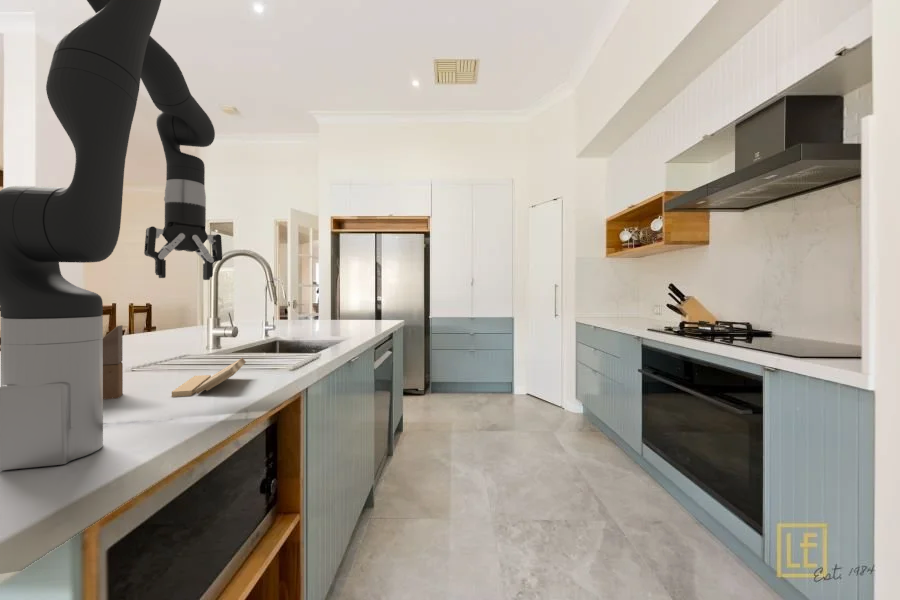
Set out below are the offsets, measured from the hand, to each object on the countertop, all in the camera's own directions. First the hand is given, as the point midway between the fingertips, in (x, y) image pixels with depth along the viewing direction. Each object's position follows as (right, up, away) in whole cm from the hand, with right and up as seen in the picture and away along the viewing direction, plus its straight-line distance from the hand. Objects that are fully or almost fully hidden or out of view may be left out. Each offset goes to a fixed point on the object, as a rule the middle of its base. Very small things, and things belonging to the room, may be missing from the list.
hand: (185, 278), depth 90 cm
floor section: (+8, -24, -3) cm, 25 cm away
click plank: (+10, -21, -2) cm, 23 cm away
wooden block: (-9, -24, -14) cm, 29 cm away
